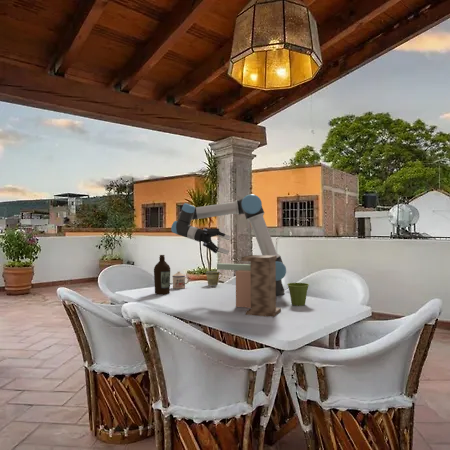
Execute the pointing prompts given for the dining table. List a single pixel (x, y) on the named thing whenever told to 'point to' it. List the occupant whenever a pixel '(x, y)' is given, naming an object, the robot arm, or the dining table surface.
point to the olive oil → (162, 277)
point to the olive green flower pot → (213, 277)
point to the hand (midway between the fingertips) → (229, 245)
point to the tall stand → (262, 285)
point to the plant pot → (298, 293)
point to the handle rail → (234, 266)
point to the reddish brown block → (243, 288)
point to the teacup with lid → (179, 280)
